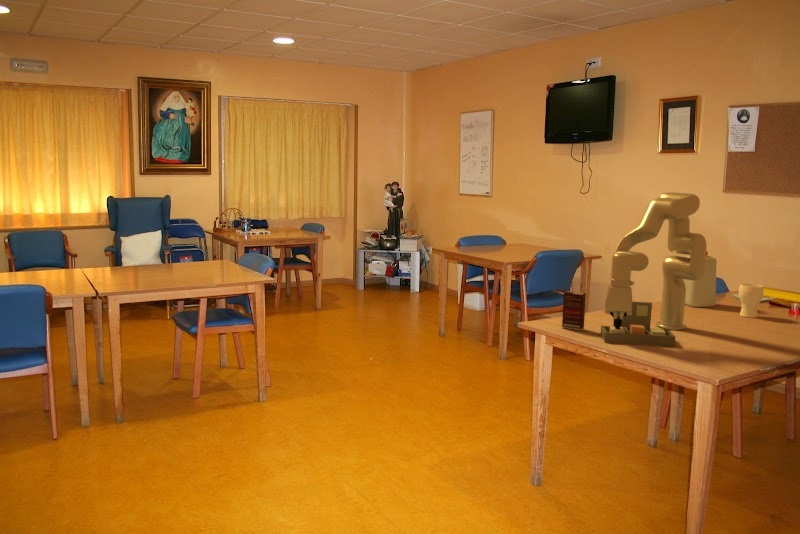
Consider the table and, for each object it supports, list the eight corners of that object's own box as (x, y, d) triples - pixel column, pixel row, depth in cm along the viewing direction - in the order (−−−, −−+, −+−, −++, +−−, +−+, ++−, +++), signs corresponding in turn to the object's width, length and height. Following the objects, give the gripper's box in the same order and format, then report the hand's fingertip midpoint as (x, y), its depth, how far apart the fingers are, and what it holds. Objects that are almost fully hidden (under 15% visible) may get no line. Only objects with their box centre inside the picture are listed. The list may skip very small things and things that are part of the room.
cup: (766, 317, 332) (769, 286, 330) (749, 319, 328) (752, 287, 326) (747, 313, 342) (750, 282, 340) (731, 314, 338) (734, 283, 336)
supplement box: (584, 328, 301) (586, 292, 299) (580, 331, 297) (583, 294, 295) (564, 326, 306) (566, 290, 303) (561, 328, 302) (563, 292, 299)
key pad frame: (600, 335, 291) (601, 325, 291) (667, 338, 287) (668, 329, 287) (604, 342, 279) (605, 332, 279) (674, 346, 276) (675, 336, 275)
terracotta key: (629, 332, 286) (630, 324, 285) (642, 333, 285) (642, 325, 285) (631, 335, 281) (632, 327, 280) (644, 336, 280) (645, 328, 280)
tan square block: (609, 334, 287) (609, 326, 287) (621, 335, 286) (622, 327, 286) (611, 337, 282) (611, 329, 282) (623, 338, 282) (624, 330, 281)
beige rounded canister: (719, 307, 355) (724, 252, 350) (693, 307, 351) (698, 252, 347) (699, 301, 369) (704, 248, 365) (674, 301, 366) (679, 249, 361)
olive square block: (649, 336, 285) (650, 328, 284) (662, 337, 284) (662, 329, 284) (652, 340, 280) (652, 331, 279) (665, 340, 279) (665, 332, 279)
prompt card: (614, 333, 295) (616, 300, 293) (648, 335, 293) (651, 302, 291) (615, 333, 294) (617, 301, 292) (649, 335, 292) (652, 303, 290)
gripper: (637, 283, 284) (634, 327, 286) (599, 281, 286) (597, 325, 289) (641, 286, 276) (637, 331, 279) (602, 284, 278) (599, 329, 281)
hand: (617, 328), depth 284 cm, fingers closed
